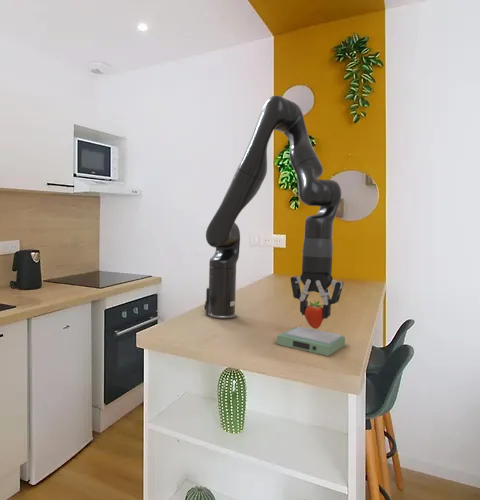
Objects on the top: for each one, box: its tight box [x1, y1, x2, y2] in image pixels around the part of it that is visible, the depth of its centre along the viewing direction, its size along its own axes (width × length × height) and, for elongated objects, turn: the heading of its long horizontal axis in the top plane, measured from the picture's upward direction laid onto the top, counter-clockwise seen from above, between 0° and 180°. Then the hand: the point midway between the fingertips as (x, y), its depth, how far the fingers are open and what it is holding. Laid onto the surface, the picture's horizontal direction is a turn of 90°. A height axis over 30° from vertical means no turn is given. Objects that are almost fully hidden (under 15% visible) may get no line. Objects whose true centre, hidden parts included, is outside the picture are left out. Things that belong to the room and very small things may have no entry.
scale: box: [276, 326, 346, 357], centre depth 114 cm, size 14×12×3 cm
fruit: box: [304, 300, 324, 330], centre depth 114 cm, size 5×5×8 cm
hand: (314, 316), depth 114 cm, fingers closed on fruit, 5 cm apart
